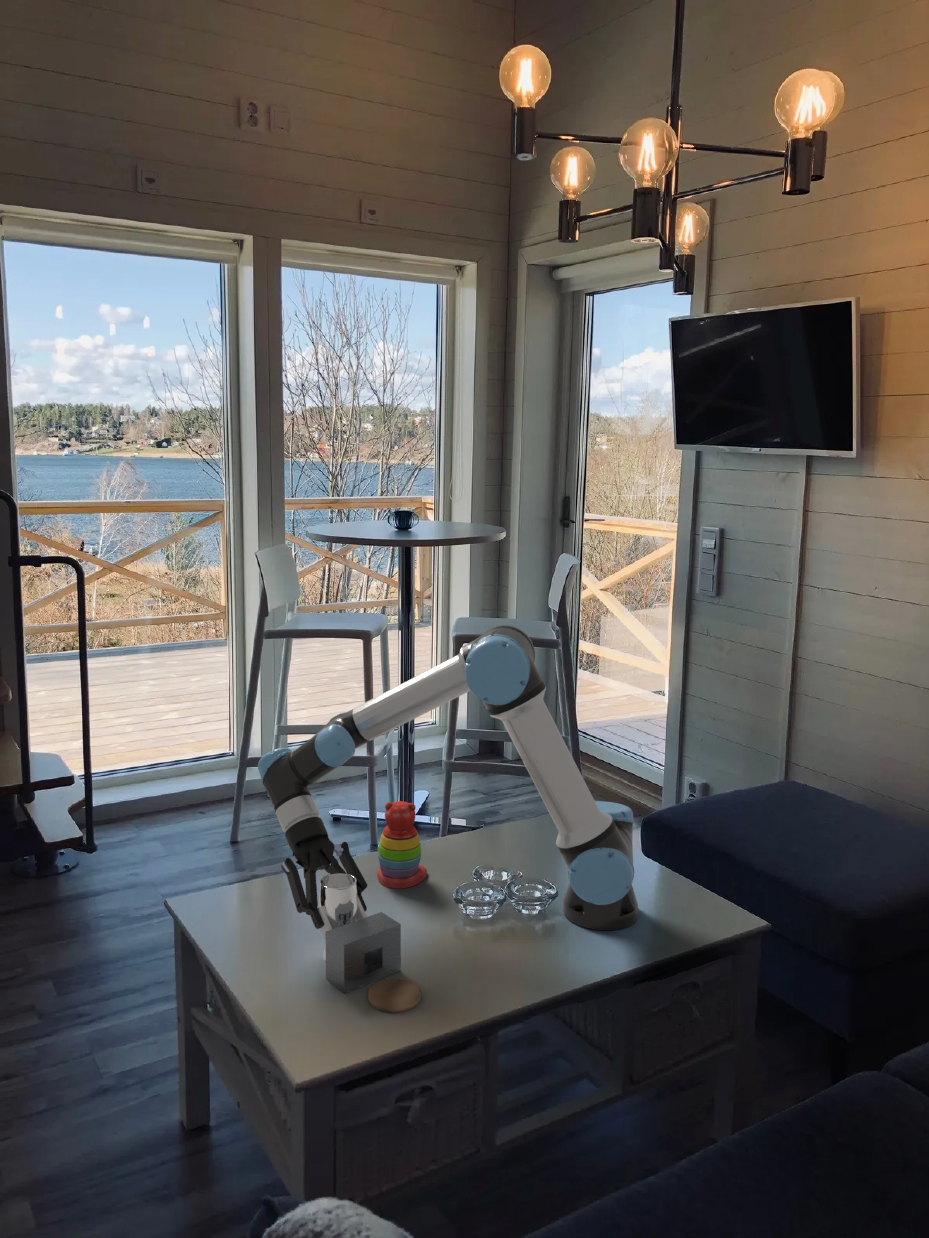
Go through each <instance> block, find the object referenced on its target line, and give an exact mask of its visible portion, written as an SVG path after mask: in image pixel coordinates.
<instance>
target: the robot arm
mask: <svg viewBox="0 0 929 1238" xmlns="http://www.w3.org/2000/svg"><path fill="white" fill-rule="evenodd" d="M535 659H536V651H535V647H534V644H533V641H532V639H531V638H530V636H528V634H526V633H525V632H524V631H523V630H522V629H521V628H518V627H516V626H513V625H506V624H505V625H504V624H503V625H497V626H495V627H491V628H490V629H488V630H486V631H485V632H484V633H482V634H481V635H480V636H478V637H477V638H476V639H474V640H472V641H470V642H469V643H467V644H465V645H463V646H461V647H460V650H459V653H458V654H457V655H455V656H453V657H451V658H449V659H447V660H444V661H443V662H441V663H439V664H438V665H435V666H433V667H431V668H430V669H427V670H426V671H424V672H422V673H420V674H418V675H417V676H414V677H412V678H410V679H409V680H406V681H404V682H403V683H401V684H399V685H396V686H395V687H392V688H391V689H389V690H387V691H384V692H383V693H381V694H379V695H377V696H375V697H373V698H371V699H369V700H367V701H365V702H363V703H361V704H360V705H357V706H356V707H354V708H352V709H350V710H349V711H346V712H345V711H343V712H340V713H339V714H337V715H335V716H333V717H332V718H331V719H330V720H329V721H328V722H327V723H326V724H325V725H324V726H322V728H321V729H320V730H319V731H318V732H316V733H315V734H314V735H313V736H312V737H311V738H309V739H308V740H307V741H305V742H304V743H303V744H302V745H300V746H299V747H297V748H296V749H295V750H293V751H292V749H290V748H288V747H279V748H275V749H273V750H272V751H269V752H267V753H265V754H264V755H262V757H261V758H260V759H259V761H258V763H257V769H258V772H259V776H260V777H261V783H262V785H263V786H264V788H265V791H266V793H267V795H268V798H269V800H270V802H271V804H272V807H273V809H274V813H275V815H276V817H277V820H278V823H279V825H280V827H281V829H282V831H283V832H284V837H285V840H286V842H287V844H288V847H289V849H290V850H291V852H292V856H291V857H286V859H285V860H284V861H283V862H282V864H281V865H280V867H281V869H282V871H283V872H284V873H285V875H286V878H287V880H288V884H289V887H290V892H291V894H292V895H291V896H292V897H293V902H294V904H295V908H296V911H297V913H299V914H301V913H305V914H306V915H308V916H310V919H311V920H312V923H313V925H314V927H315V929H316V930H319V929H320V931H321V932H320V933H321V934H322V937H323V939H324V943H325V942H326V941H325V932H326V931H329V930H332V927H331V925H330V923H329V920H328V918H327V915H326V913H325V911H324V909H323V907H322V906H321V907H320V906H319V904H318V903H319V901H318V887H317V871H319V870H320V871H323V870H324V871H325V872H326V873H327V874H329V875H330V874H335V873H345V874H350V875H352V876H354V877H355V878H356V880H357V881H356V883H357V894H358V909H357V917H356V921H357V920H360V919H363V918H366V917H368V916H367V914H366V912H367V910H368V908H367V904H366V902H365V900H364V898H363V896H362V893H363V892H364V891H365V890H366V889H367V888H368V883H367V881H366V880H365V878H364V876H363V874H362V872H361V870H360V869H359V867H358V865H357V864H356V861H355V859H354V858H353V856H352V855H351V852H350V847H349V844H348V842H346V841H343V842H341V843H339V844H338V843H335V844H334V842H333V841H332V840H330V838H329V834H328V831H327V828H326V826H325V823H324V822H323V819H322V818H321V817H320V811H319V809H318V807H317V805H316V803H315V801H314V799H313V797H312V794H311V791H310V788H309V787H311V786H312V785H314V784H315V783H316V782H318V781H319V780H321V779H322V778H323V777H325V776H327V775H329V774H330V773H332V772H333V771H334V770H336V769H337V768H338V767H339V768H340V767H342V766H343V765H344V764H345V763H346V762H347V761H348V760H350V759H351V758H353V757H354V756H355V753H356V749H357V748H360V747H361V746H364V745H366V744H368V743H369V742H371V741H372V740H375V739H376V738H379V737H381V736H383V735H385V734H387V733H389V732H391V731H392V730H394V729H397V728H399V727H401V726H403V725H404V724H407V723H409V722H411V721H413V720H415V719H417V718H419V717H421V716H423V715H424V714H427V713H429V712H431V711H433V710H435V709H437V708H439V707H441V706H443V705H445V704H447V703H449V702H451V701H454V700H455V699H457V698H459V697H461V696H463V695H465V694H467V693H469V692H471V693H472V694H473V695H474V696H475V697H476V698H477V699H478V700H480V701H482V703H483V705H484V706H485V709H486V710H487V713H488V714H489V716H490V717H491V718H494V719H497V720H500V721H501V722H502V723H503V725H504V727H505V730H506V731H507V733H508V736H509V737H510V739H511V741H512V743H513V745H514V747H515V749H516V751H517V752H518V754H519V756H520V758H521V761H522V762H523V765H524V767H525V769H526V770H527V772H528V775H529V776H530V778H531V780H532V782H533V784H534V786H535V788H536V790H537V792H538V794H539V796H540V798H541V799H542V802H543V804H544V805H545V808H546V809H547V811H548V813H549V815H550V817H551V819H552V821H553V823H554V825H555V827H556V829H557V831H558V834H557V837H556V840H555V844H556V847H557V848H558V850H559V852H560V854H561V856H562V859H563V860H564V863H565V865H566V866H567V868H568V879H569V880H568V881H569V884H568V887H567V889H566V891H565V894H564V897H563V901H562V912H563V914H564V916H565V917H566V919H568V921H570V922H571V923H573V924H575V925H577V926H580V927H583V928H587V929H590V930H599V931H614V930H615V931H616V930H620V929H625V928H627V927H629V926H631V925H633V924H634V923H636V921H637V919H638V918H639V917H638V915H639V904H638V901H637V896H636V894H635V891H634V887H633V881H634V877H635V867H634V852H633V850H634V849H633V833H634V832H633V831H634V823H635V820H634V812H633V810H632V808H631V807H629V806H627V805H625V804H621V803H617V802H612V801H600V800H599V801H596V800H595V799H594V797H593V795H592V793H591V791H590V790H589V787H588V785H587V783H586V781H585V779H584V778H583V775H582V773H581V771H580V770H579V768H578V766H577V764H576V762H575V760H574V757H573V755H572V754H571V751H570V750H569V748H568V746H567V744H566V742H565V740H564V738H563V735H562V734H561V732H560V730H559V728H558V726H557V724H556V722H555V720H554V718H553V716H552V714H551V713H550V711H549V708H548V706H547V704H546V702H545V700H544V697H545V694H546V690H547V687H546V685H545V682H544V680H543V678H542V676H541V675H540V673H539V670H538V668H537V667H536V665H535V662H536V660H535ZM334 852H335V854H336V857H338V859H339V860H337V858H336V857H335V856H334ZM339 861H340V863H341V865H342V866H341V865H340V863H339ZM298 865H299V866H300V867H301V868H302V869H303V870H302V871H303V878H304V883H305V890H304V887H303V883H302V880H301V876H300V874H299V870H298V868H297V866H298ZM342 867H343V868H342ZM318 906H319V907H318Z"/></svg>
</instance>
